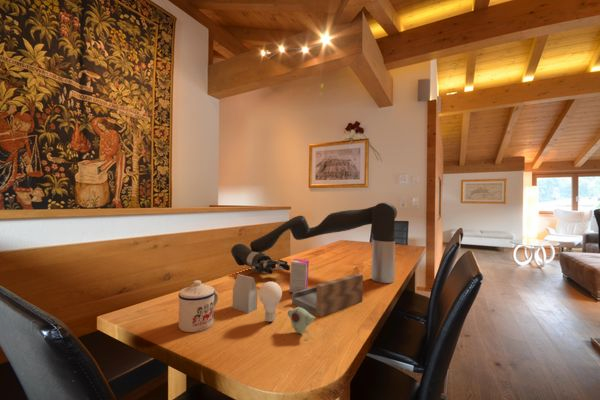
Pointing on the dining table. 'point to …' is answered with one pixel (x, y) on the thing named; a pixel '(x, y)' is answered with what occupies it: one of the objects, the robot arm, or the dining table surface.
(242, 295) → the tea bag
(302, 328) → the pale green triangular piece
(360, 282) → the cleat board
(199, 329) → the teacup with lid
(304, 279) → the supplement box
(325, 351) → the dining table surface
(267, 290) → the lightbulb
